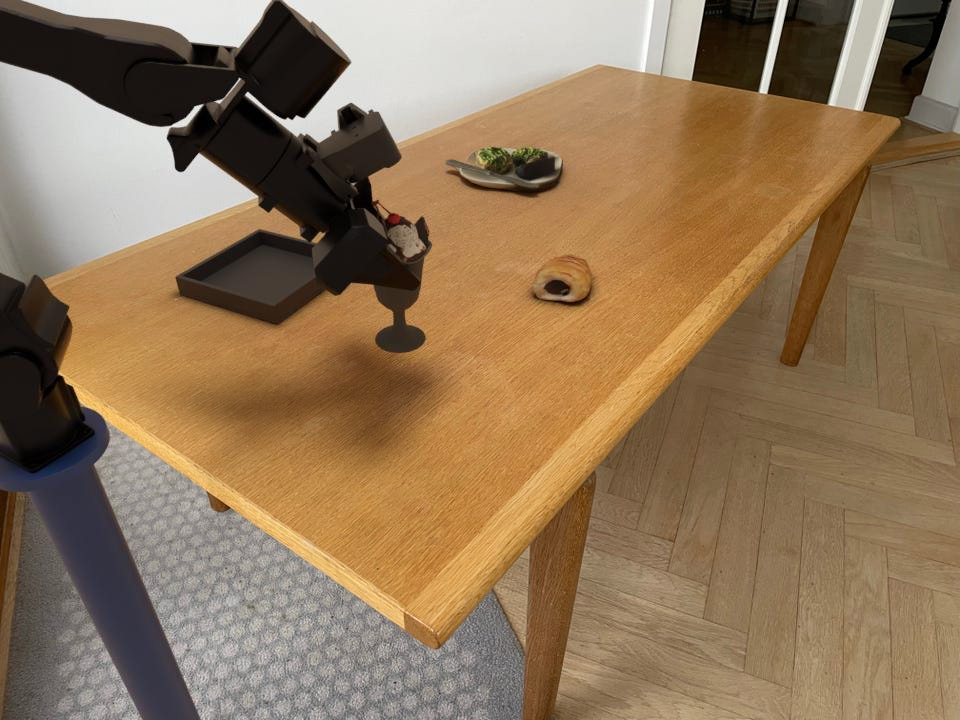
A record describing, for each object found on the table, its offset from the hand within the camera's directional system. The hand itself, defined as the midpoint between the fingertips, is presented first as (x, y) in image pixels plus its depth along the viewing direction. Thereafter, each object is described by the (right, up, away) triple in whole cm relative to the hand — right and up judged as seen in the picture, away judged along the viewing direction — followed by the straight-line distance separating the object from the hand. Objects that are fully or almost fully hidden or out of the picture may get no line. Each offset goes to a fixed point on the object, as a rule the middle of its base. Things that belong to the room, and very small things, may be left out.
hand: (411, 269), depth 67 cm
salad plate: (+12, +23, +55) cm, 61 cm away
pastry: (+17, 0, +24) cm, 29 cm away
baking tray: (-20, +2, +25) cm, 32 cm away
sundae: (-1, -7, +4) cm, 8 cm away
